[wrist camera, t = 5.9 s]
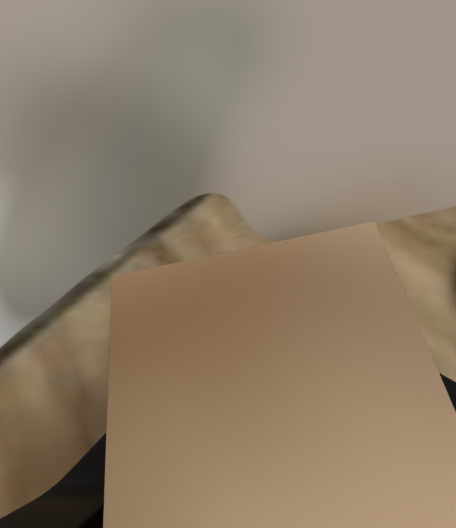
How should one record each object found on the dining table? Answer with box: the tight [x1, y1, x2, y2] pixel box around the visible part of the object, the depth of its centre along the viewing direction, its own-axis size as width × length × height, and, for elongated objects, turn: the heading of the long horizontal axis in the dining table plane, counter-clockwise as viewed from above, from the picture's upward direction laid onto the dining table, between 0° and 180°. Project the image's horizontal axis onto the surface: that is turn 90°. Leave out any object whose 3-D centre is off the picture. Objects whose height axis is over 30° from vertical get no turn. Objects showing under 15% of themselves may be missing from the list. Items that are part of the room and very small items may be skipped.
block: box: [103, 222, 456, 528], centre depth 9 cm, size 5×9×13 cm, turn 99°
